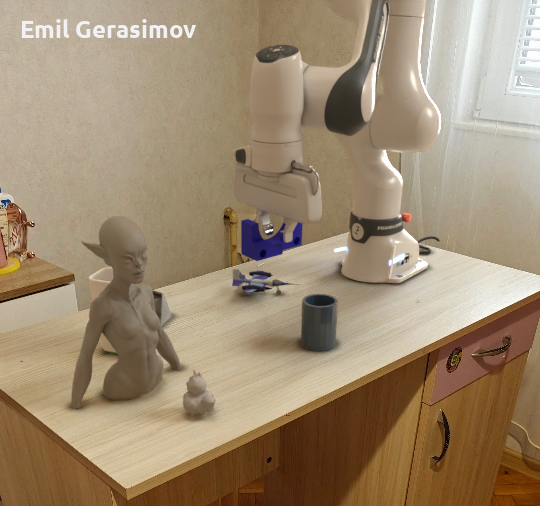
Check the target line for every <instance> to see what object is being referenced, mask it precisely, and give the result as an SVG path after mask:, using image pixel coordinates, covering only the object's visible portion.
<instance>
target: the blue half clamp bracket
mask: <svg viewBox="0 0 540 506" xmlns="http://www.w3.org/2000/svg"><path fill="white" fill-rule="evenodd" d="M259 225H260V222H256V221H253V220H252V219H250V218H247V219H242V220H240V226H241V227H240V232H241V233H240V235H241V236H240V237H241V239H240V241H241V242H240V243H241V244H240V245H241V246H240V248H241V251H240V253H241V255H242V256H244V257H246V258H249V259H250V260H253V261H255V262H259V261H263V260H266V259H271V258H274V257H277V256H281V255H283V252H284V251H285V250H288V249H293V248H296V247H300V246H302V244H303V225H304V224H302V223H299V222H298V223H297V225H296V227H295V229H294V231H293V239H292V241H291V242H287V243H286V242H283V241H281V240H280V237H281V236H280V231H284V228H285V225H286V224H285V223H284V221H283V222H282V224H281V226H280V228H279V229H278V231H277V232H276V233H275V234H274V235H272V236H271V237H269V238H266V239H264V238H263V235H262V233H261V230H260V226H259Z"/></svg>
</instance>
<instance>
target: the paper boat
mask: <svg viewBox="0 0 540 506" xmlns="http://www.w3.org/2000/svg"><path fill="white" fill-rule="evenodd" d="M151 290H152V292H153V296H154V308H155V312H156V314H157V316H158V318H159V322H160V325H161V327H163V326H164V325H165V324H166V322H168V321H169V320H170V319H171V318H172V317H173V316H172V313H171V309H170V307H169V303H168V300H167V296H166V293H164V292H160V291H157V290H153V289H151Z"/></svg>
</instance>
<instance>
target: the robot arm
mask: <svg viewBox="0 0 540 506" xmlns="http://www.w3.org/2000/svg"><path fill="white" fill-rule="evenodd" d="M323 1H324V2H325V4H326V5H327V6H328V8H329V9H330V10H331V11H332V12H333V13H334V14H336V15H337V16H339V17H340V18H342V19H345V20H347V21H349V22H351V23H353V24H354V25H356V26H357V31H356V37H355V40H354V47H353V51H352V56H351V60H350V62H348V63H347V64H345V65H342V66H340V67H338V66H337V67H336V66H335V67H332V66H321V65H320V66H319V65H311V64H308V63H307V62H304V61H303V59H302V55H301V50H300V48H298V47H296V46H294V45H291V44H275V45H270V46H269V45H268V46H265V47H263V48H261V49H259V50H258V51H257V52H256V53H255V55H254V56H253V60H252V66H251V74H250V88H249V90H250V92H249V95H250V96H249V108H250V109H249V110H250V115H251V118H252V128H251V133H250V143H249V144H248V145H244V146H241V147H237V148H234V149H233V150H232V160H233V162H234V163H235V164H234V166H233V177H232V178H233V180H232V181H233V195H234V197H235V200H236V201H237V203H239V204H242V205H246V206H249V207H252V208H255V209H256V213H255V214H256V217H257V219H258V221H259V225H260V234H261V235H265V236H271V235H272V236H273V234H274V224H273V223H272V222H271V219H270V215H269V214H272V215H275V216H278V217H280V218H283V222H284V223H285V224H286V225H285V228H284V231H280V236H281V237H280V240H281V241H283V242H286V243H287V242H291V241H292V239H293V231H294V229H295V227H296V225H297V223H298V222H299V223H302V224H303V225H311V224H315V223H318V222H319V221H320V219H321V218H322V215H323V201H322V189H321V183H320V176H319V174H318V172H317V171H316V169H315V168H314V166H313V165H311V164H305V163H303V146H304V134H303V130H302V128H303V129H307V130H314V131H315V130H316V131H323V132H324V131H326V132H331V133H332V134H333V136H334V137H335V138H336V139H337V141H338V142H339V143H340V144H341V146H342V148H343V149H344V152H345V154H346V155H347V158H348V162H349V165H350V168H351V172H352V173H351V174H352V183H353V184H352V209H351V211H350V214H349V219H348V220H349V223H348V228H349V232H348V233H347V240H346V245H345V246H342V247H338V248H334V249H333V252H334V253H338V252H342V251H344V258H343V259H341V266H342V267H341V270H340V272H341V274H342V275H343V276H345V277H346V278H348V279H351V280H354V281H358V282H363V283H389V284H401V283H403V282H405V281H406V280H408V279H410V278H412V277H414V276H416V275H417V274H419V273H421V272H422V271H425V270H426V269H428V266H429V265H428V263H427V262H426V261H425V260H423V259H422V258H420V255H428V254H430V253H431V252H432V249H431V248H430V247H427V246H425V245H421V244H420V243H422V242H424V241H427V240H435V241H436V242H441V240H440V238H439V237H437V236H434V235H430V236H425V237H421V238H420V239H418V240H416V239H415V238H414V237H413V236H412V235H410V233H408V231H407V230H406V229H405V228H404V223H407V224H409V223H410V222H411V221H412V217H413V216H412V214H411V213H406V212H402V213H401V207H402V206H401V205H402V196H403V185H404V182H403V178H402V175H401V174H400V172H399V171H398V170H397V169H396V167H393V165H392V164H391V162H390V161H389V159H388V155H387V151H388V152H394V153H401V154H414V153H424V152H426V151H428V150H429V149H430V148H431V147H432V146H433V145H434V143H436V141H437V139H438V137H439V135H440V132H441V131H440V130H441V123H442V120H441V113H440V111H439V108H438V107H437V105H436V104H435V102H434V101H433V100H432V99H431V97H430V96H429V94H428V92H427V89H426V88H425V85H424V82H423V77H422V73H421V63H420V61H421V48H422V47H421V46H422V37H423V28H424V22H425V21H424V20H425V19H424V18H425V13H426V5H427V0H323ZM378 76H379V78H380V81H381V84H382V88H383V89H382V92H377V84H378ZM403 222H404V223H403ZM420 249H421V251H420ZM422 250H424V251H422Z"/></svg>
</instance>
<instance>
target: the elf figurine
mask: <svg viewBox="0 0 540 506" xmlns="http://www.w3.org/2000/svg"><path fill="white" fill-rule="evenodd" d="M98 242H99V244H98V243H92V242H91V243H90V242H85V241H82V240H81V241H80V243H82V245H83V246H84V247H86V249H88V250H89V251H91V253H93V254H94V255H95V256H96V257H98V258H100V259H102V260H103V261H104V263H105V265H107V267H112V268H113V280H112V281H111V282H110V283H109V284H108V285H107V286H106V288H105V289H104V290H103V291H102V292H101V293H100V294H99V297H98V298H96V299H95V300H94V301H93V302H92V301H91V303H90V306H89V312H88V321H87V323H86V326H85V331H84V336H83V340H82V344H81V347H80V350H79V353H78V354H79V355H78V358H77V361H76V363H75V369H74V374H73V381H72V387H71V394H70V395H71V398H70V399H71V400H70V401H71V402H70V403H71V408H73V409H79V408H81V406H82V402H83V399H84V396H85V394H86V392H87V391H88V388H89V385H90V384H91V381H92V376H93V358H94V354H95V351H96V349H97V346H98V344H99V342H100V340H101V339H100V336H101V334H102V333H103V334H104V336H105V337H106V338H107V340H108V341H109V343H110V344H111V345H112V347H113V348H114V350H115V351H116V352H117V353H118V354H117V361H115V363H113V364H112V365H111V366H110V367H109V369H108V370H107V371H106V373H105V375H104V378H103V383H102V391H103V395H104V396H105V398H107V399H108V400H112V401H123V400H124V401H125V400H132V399H137V398H140V397H142V396H145V395H147V394H151V392H153V391H154V390H155V389H156V388H157V387H158V386H159V385H160V383H161V381H162V378H163V372H164V361H163V359H164V360H165V362H167V364H169V366H170V367H171V369H172V370H174V371H180V370H181V369H182V367H181V361H180V358H179V356H178V354H177V352H176V350H175V347H174V345H173V343H172V341H171V339H170V337H169V335H168V333H167V332H166V331H165V329H164V328H163V326H161V325H160V322H159V318H158V316H157V314H156V312H155V308H154V296H153V292H152V290H153V289H152V288H151V286H150V285H148V284H145V283H144V284H143V282H144V280H145V279H144V278H145V271H146V266H147V264H148V242H147V239H146V236H145V234H144V232H143V231H142V229H141V227H140V226H139V225H138V224H137V223H136V221H134V220H132V219H131V218H129V217H126V216H123V215H115V216H111V217H109V218H107V219H106V220H105V221H104V222H103V223H102V224H101V225H100V228H99V230H98ZM157 352H158V353H157ZM158 354H159V355H158ZM160 356H161V357H160Z"/></svg>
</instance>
